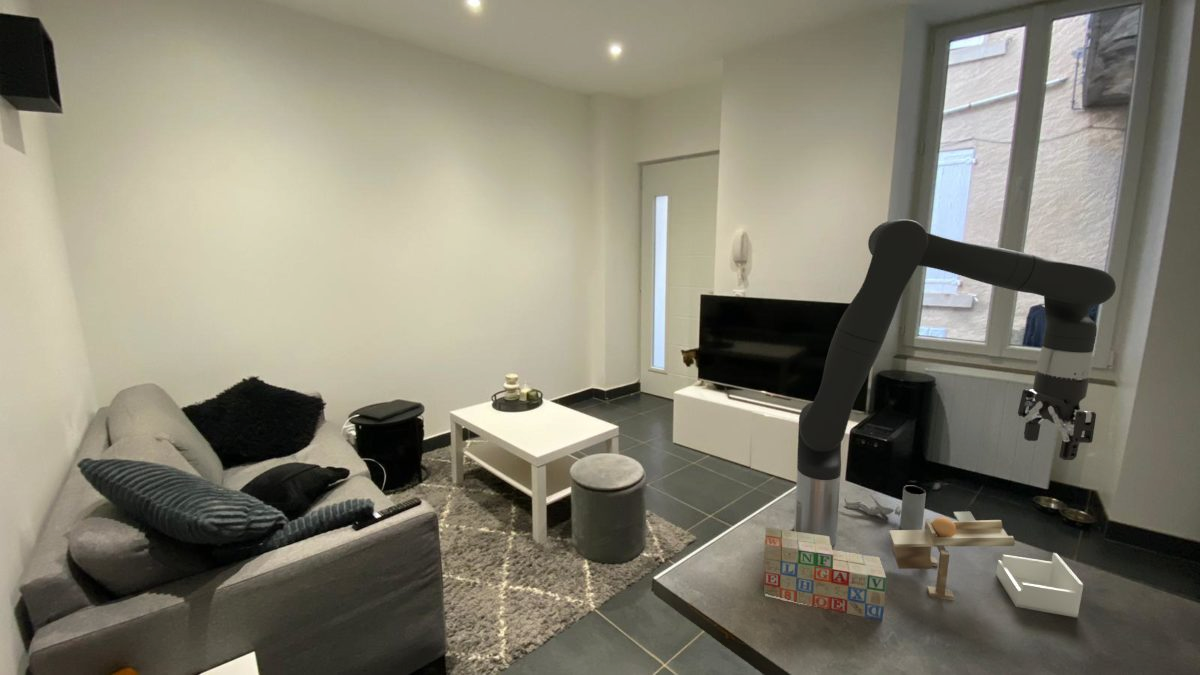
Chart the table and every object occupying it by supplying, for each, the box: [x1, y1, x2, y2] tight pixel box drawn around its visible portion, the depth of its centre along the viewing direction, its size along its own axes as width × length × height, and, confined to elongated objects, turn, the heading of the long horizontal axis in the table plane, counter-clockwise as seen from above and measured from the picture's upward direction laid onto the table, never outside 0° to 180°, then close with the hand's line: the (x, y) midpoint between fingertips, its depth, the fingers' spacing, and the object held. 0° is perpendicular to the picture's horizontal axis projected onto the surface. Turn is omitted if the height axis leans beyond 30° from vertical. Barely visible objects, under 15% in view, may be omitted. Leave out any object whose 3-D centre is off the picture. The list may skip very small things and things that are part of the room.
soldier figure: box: [844, 494, 901, 517], centre depth 123 cm, size 8×5×12 cm
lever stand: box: [924, 520, 955, 601], centre depth 100 cm, size 4×12×10 cm, turn 160°
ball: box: [932, 516, 956, 537], centre depth 98 cm, size 4×4×4 cm
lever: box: [889, 510, 1016, 570], centre depth 100 cm, size 20×13×8 cm, turn 69°
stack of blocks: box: [763, 526, 887, 621], centre depth 95 cm, size 21×6×12 cm, turn 70°
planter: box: [899, 484, 927, 530], centre depth 116 cm, size 4×4×10 cm
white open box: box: [995, 552, 1084, 618], centre depth 94 cm, size 9×9×7 cm
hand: (1047, 449), depth 96 cm, fingers open, 8 cm apart
